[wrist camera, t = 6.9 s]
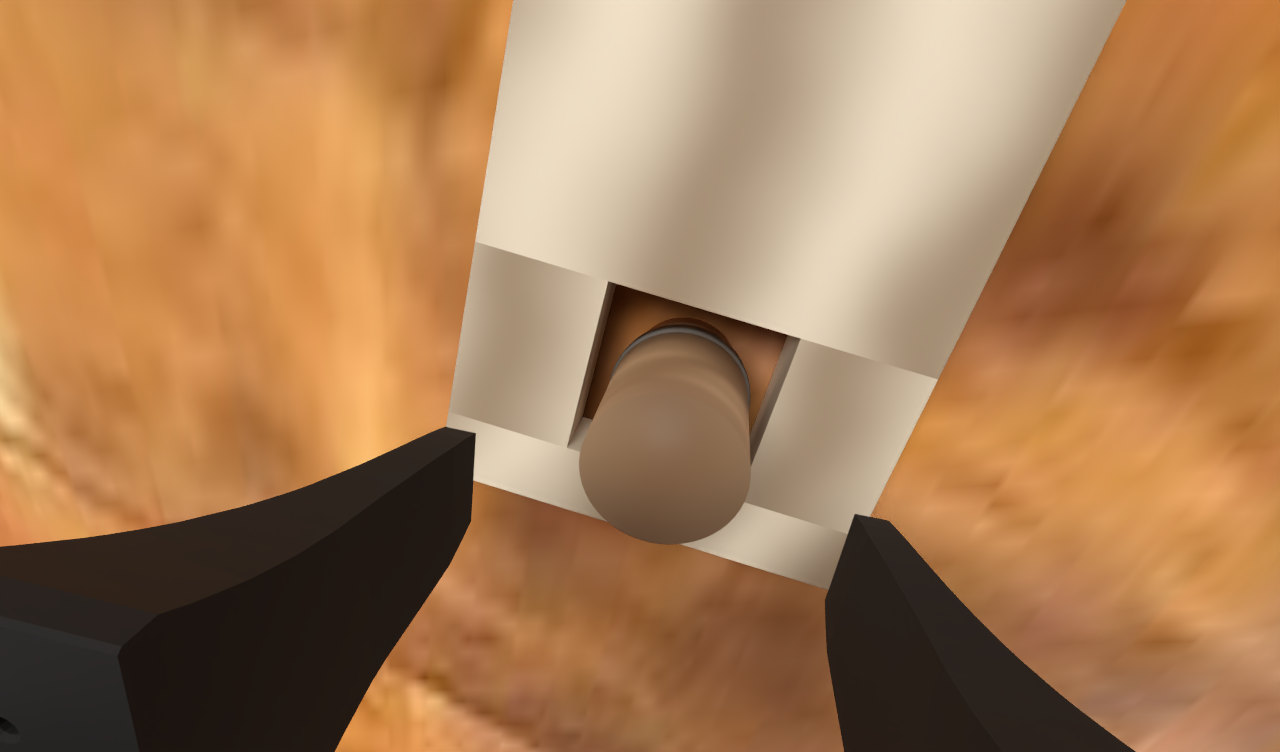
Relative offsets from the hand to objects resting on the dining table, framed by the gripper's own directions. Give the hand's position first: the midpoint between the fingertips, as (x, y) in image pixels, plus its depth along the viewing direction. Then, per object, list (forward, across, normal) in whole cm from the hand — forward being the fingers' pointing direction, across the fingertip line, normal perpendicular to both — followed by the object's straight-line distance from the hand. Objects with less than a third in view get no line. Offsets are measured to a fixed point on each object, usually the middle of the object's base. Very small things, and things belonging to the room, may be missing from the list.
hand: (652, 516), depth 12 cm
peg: (+8, 0, 0) cm, 8 cm away
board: (+8, 0, -3) cm, 8 cm away
